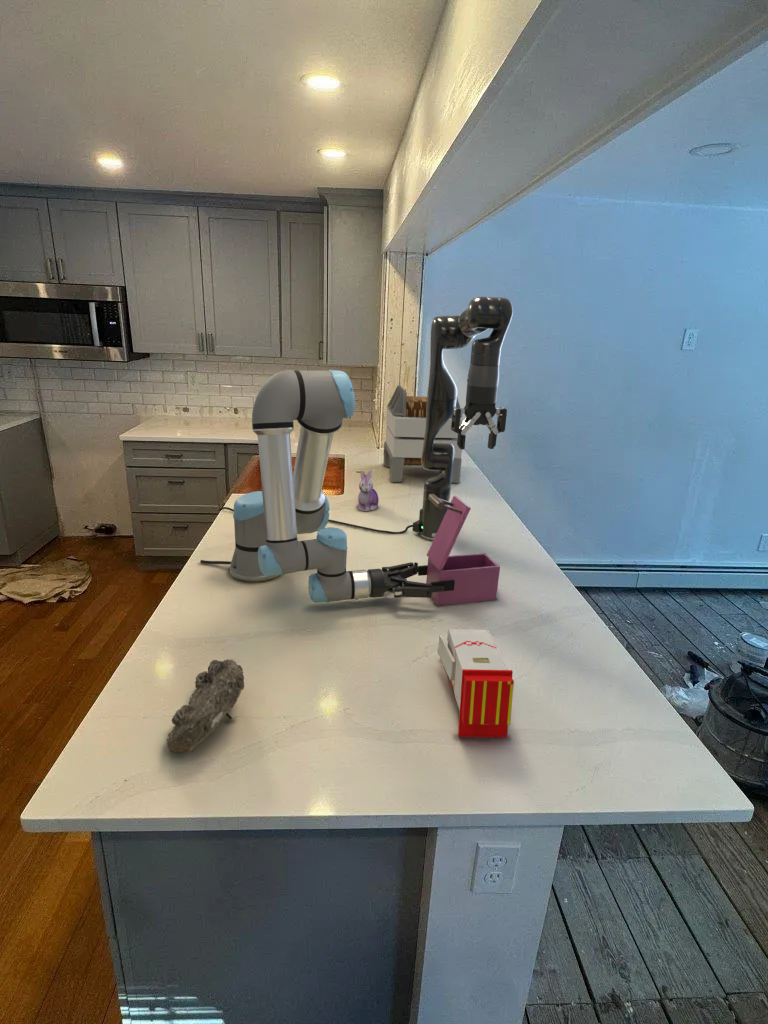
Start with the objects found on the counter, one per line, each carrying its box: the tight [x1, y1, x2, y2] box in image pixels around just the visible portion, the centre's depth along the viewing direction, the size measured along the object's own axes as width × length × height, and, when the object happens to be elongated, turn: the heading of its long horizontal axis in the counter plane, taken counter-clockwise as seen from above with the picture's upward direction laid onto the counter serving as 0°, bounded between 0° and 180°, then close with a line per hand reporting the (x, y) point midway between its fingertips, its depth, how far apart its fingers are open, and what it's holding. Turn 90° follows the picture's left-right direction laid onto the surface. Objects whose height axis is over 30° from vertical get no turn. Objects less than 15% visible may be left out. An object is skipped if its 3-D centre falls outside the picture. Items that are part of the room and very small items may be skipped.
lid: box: [426, 494, 472, 570], centre depth 150 cm, size 18×9×8 cm
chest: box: [425, 552, 501, 607], centre depth 157 cm, size 18×9×10 cm, turn 106°
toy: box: [437, 628, 515, 738], centre depth 117 cm, size 12×13×30 cm
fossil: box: [166, 658, 245, 754], centre depth 106 cm, size 22×10×15 cm
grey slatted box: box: [383, 384, 465, 484], centre depth 268 cm, size 34×33×41 cm
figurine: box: [357, 470, 380, 512], centre depth 221 cm, size 9×10×15 cm
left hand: (446, 576), depth 156 cm, fingers closed on chest, 9 cm apart
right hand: (476, 448), depth 145 cm, fingers open, 7 cm apart
